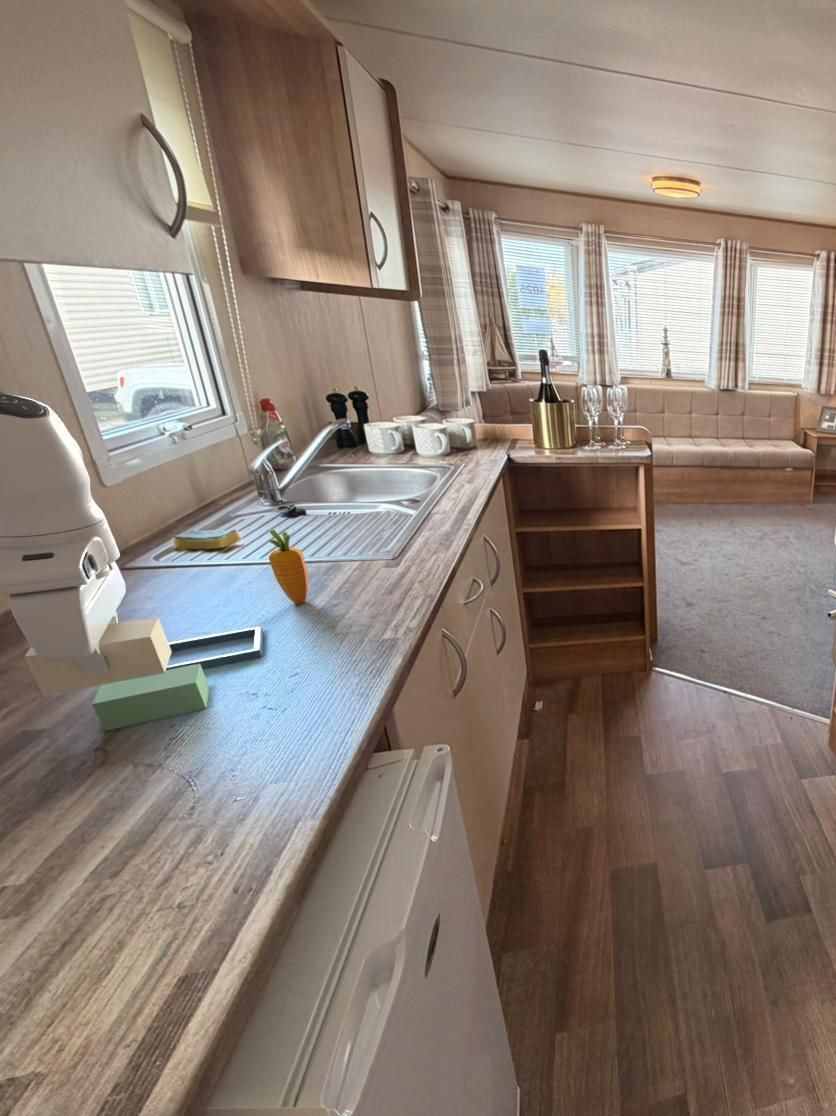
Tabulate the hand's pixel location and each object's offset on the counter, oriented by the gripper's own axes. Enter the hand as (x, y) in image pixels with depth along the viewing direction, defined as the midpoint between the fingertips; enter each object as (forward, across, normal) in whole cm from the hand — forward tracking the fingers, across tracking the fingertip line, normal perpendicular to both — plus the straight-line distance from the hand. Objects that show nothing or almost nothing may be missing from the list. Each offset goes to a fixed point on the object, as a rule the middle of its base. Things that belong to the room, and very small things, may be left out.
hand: (106, 659), depth 75 cm
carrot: (+14, -41, +16) cm, 46 cm away
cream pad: (+2, 0, 0) cm, 2 cm away
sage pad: (+14, -10, 0) cm, 17 cm away
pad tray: (+14, -25, +4) cm, 29 cm away
